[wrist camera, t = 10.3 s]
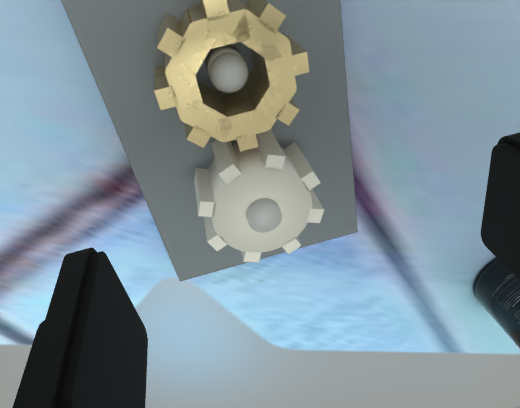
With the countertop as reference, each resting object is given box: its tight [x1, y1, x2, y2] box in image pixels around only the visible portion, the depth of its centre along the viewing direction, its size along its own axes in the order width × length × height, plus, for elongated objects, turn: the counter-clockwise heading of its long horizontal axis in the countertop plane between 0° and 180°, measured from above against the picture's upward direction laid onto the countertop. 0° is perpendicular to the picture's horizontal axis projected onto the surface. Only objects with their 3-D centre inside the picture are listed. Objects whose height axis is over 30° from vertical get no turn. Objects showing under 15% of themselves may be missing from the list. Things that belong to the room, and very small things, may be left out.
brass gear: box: [154, 0, 309, 152], centre depth 22 cm, size 8×8×4 cm
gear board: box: [61, 0, 358, 281], centre depth 22 cm, size 14×30×6 cm, turn 11°
